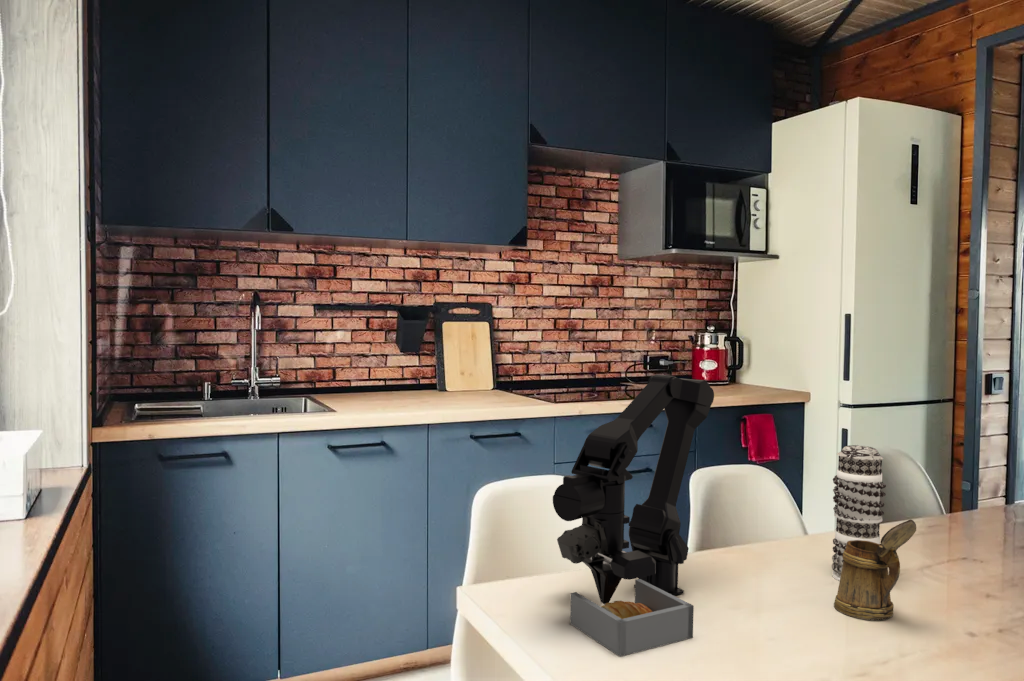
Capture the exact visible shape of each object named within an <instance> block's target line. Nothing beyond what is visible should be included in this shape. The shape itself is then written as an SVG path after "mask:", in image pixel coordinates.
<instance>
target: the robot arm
mask: <svg viewBox="0 0 1024 681" xmlns="http://www.w3.org/2000/svg"><path fill="white" fill-rule="evenodd" d="M714 398H715V392H714V389H713V388H712V387H711V385H710V383H709V382H708V381H707V380H705V379H704V380H703V379H692V378H691V379H690V378H680V377H679V378H678V377H676V376H674V375H668V374H667V375H665V374H654V375H651V376H650V377H649V378H648V379H647V384H646V385H645V386H644V387H643V389H641V391H640V392H638V394H637V395H636V396H635V398H633V400H632V401H630V403H629V404H628V405H627V406H626V407H625V408H624V409H623V411H622V412H621V413H620V414H619V416H617V417H616V418H615V419H614V420H611V421H609V422H606V423H604V424H601V425H600V426H598V427H596V429H594V430H592V431H591V432H590V433H589V434H588V435H587V437H586V438H585V440H584V443H583V445H582V448H581V450H580V451H579V454H578V456H577V457H576V461H575V462H574V465H573V466H572V470H571V471H570V472H571V474H573V475H570V474H569V475H564V476H563V478H562V484H560V485H558V486H557V487H556V489H555V490H554V494H553V495H552V504H553V509H554V511H555V513H556V515H557V516H558V517H559V518H560V519H561V520H563V521H565V522H572V521H576V520H579V519H581V520H582V521H581V525H578V526H576V527H574V528H572V529H567V530H564V532H563V533H562V534H561V535H560V536H558V537H557V539H556V540H557V544H558V548H559V552H560V554H561V557H562V558H563V559H566V560H568V561H570V562H571V563H572V564H575V565H576V564H580V563H583V564H584V565H586V567H588V568H589V569H590V572H591V575H592V577H593V580H594V584H595V587H596V590H597V593H598V597H599V601H600V603H601V604H603V605H605V604H606V603H611V602H610V601H611V599H612V598H613V596H614V595H615V592H616V590H617V588H618V586H619V585H620V583H621V580H622V579H623V580H636V579H641V580H643V581H645V582H647V583H649V584H651V585H653V586H655V587H657V588H659V589H661V590H663V591H665V592H667V593H669V594H671V595H673V596H677V595H681V594H685V593H684V592H685V590H684V589H682V588H680V587H679V586H678V585H679V565H683V564H685V561H686V560H687V559H688V554H689V546H688V544H687V543H686V542H685V541H684V539H683V538H682V536H681V534H680V530H681V520H680V517H679V513H678V509H677V502H678V498H679V495H680V489H681V488H682V487H681V486H682V482H683V478H684V474H685V469H686V466H687V463H688V459H689V455H690V450H691V446H692V442H693V438H694V435H695V434H694V433H695V431H696V429H697V428H698V427H699V426H700V425H701V424H702V423H703V422H704V421H705V420H706V419H707V418H708V414H709V413H710V410H711V407H712V405H713V403H714V400H715V399H714ZM663 410H664V413H665V416H666V419H667V425H666V429H665V433H664V437H663V440H662V444H661V448H660V452H659V456H658V460H657V464H656V468H655V470H654V475H653V479H652V483H651V486H650V491H649V494H648V498H647V499H645V501H644V502H643V503H642V504H641V503H639V504H638V503H635V505H634V507H633V509H632V516H631V519H630V516H628V515H626V514H625V499H626V498H625V497H626V496H625V495H626V494H625V491H626V483H625V482H626V481H630V480H632V479H633V477H634V476H633V475H632V473H630V472H629V471H628V469H627V468H628V467H630V465H631V463H632V461H633V460H634V458H635V457H636V455H637V453H638V451H639V450H638V443H639V442H638V441H640V438H641V437H642V435H643V434H644V433H645V432H646V431H647V429H648V428H650V426H651V425H652V424H653V422H654V421H655V420H656V419H657V418H658V416H659V415H660V414H661V413H662V412H663ZM589 465H590V466H589ZM626 524H628V526H629V528H628V538H629V541H628V540H626V539H624V538H625V533H624V532H625V525H626ZM630 546H631V551H625V550H624V549H629V548H630ZM633 588H634V589H635V584H633Z"/></svg>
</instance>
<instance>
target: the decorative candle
mask: <svg viewBox="0 0 1024 681" xmlns="http://www.w3.org/2000/svg"><path fill="white" fill-rule="evenodd" d="M836 455H837V456H838V462H837V466H838V467H837V470H836V475H834V477H833V478H832V481H833V484H834V485H835V486H834V487H833V489H832V492H833V494H834V495H833V497H832V499H833V502H834V503H835V505H834V506H833V511H834V512H833V516H834V517H835V518H836V521H835V522H836V523H835V524H836V525H835V526H836V527H835V530H834V538H833V539H832V544H833V545H834V546H833V547H832V551H833V553H834V554H832V556H831V561H832V562H833V563H832V564H831V568H832V572H831V573H832V574H831V577H833V578H834V580H837V581H839V582H840V577H841V572H842V566H843V561H844V560H843V558H842V557H843V553H844V550H846V545H847V542H848V541H853V540H862V541H870V542H874V543H877V544H880V545H881V543H880V542H881V534H880V524H881V522H883V516H884V515H885V512H884V511H883V509H881V508H883V507H885V503H884V502H883V501H881V498H883V497H885V496H886V492H884V490H883V489H886V487H887V484H886V483H884V482H883V471H882V469H883V468H882V467H883V459H885V457H884V456H882V455H881V454H880V453H879V451H878V450H877V449H876V448H874V447H873V446H866V445H858V444H857V445H856V444H855V445H853V444H852V445H851V444H850V445H845V446H844V447H843V448H842V449H841V451H839V452H837V453H836Z"/></svg>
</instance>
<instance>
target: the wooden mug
mask: <svg viewBox="0 0 1024 681" xmlns="http://www.w3.org/2000/svg"><path fill="white" fill-rule="evenodd" d="M916 532H917V524H916V522H915V521H914V520H913V519H908V520H906V521H903V522H901V523H899V524H897V525H895V526H893V527H891V528H890V529H888V531H887V532H886V533H885V534H883V535H882V537H881V538H880V544H881V545H880V544H877V543H874V542H870V541H862V540H853V541H848V542H847V545H846V550H844V553H843V557H842V558H843V560H844V561H843V566H842V572H841V577H840V581H839V582H838V587H837V588H838V589H837V593H836V595H835V598H834V603H833V607H834V608H835V610H836V611H838V612H839V613H841V614H844V615H846V616H849V617H852V618H855V619H860V620H865V621H883V620H888V619H891V617H893V615H894V603H893V601H891V591H892V590H893V588H894V587H895V586H896V584H897V582H898V580H899V577H900V573H901V562H900V559H899V558H900V557H899V555H898V553H897V552H898V551H897V550H898V549H900V547H901V546H904V545H905V544H906V543H908V542H909V541H910V540H911V538H912V537H913V536H914V535H915V533H916Z"/></svg>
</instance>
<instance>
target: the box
mask: <svg viewBox="0 0 1024 681" xmlns="http://www.w3.org/2000/svg"><path fill="white" fill-rule="evenodd" d="M634 582H635V583H634V585H635V588H634V603H635V604H636V603H641V604H644V605H645V606H647V607H648V608H649V609H651V610H652V612H650V613H646V614H642V615H637V616H633V617H629V618H624V619H621V618H619V617H618V616H616V615H614V614H613V613H611V612H609V611H608V610H606V609H604V608H602V607H601V606H602V605H601V606H600V605H599V604H598V603H595V602H594V601H592V600H591V599H589V598H588V597H586V596H584V595H582V594H580V593H579V592H577V591H573V592H570V608H569V611H570V617H569V619H570V620H569V624H570V625H572V626H573V627H575V628H576V629H577V630H579V631H581V632H582V633H584V634H585V635H587V636H588V637H590V638H591V639H592V640H594V641H595V642H597V643H598V644H600V645H601V646H603V647H604V648H606V649H608V650H609V651H610V652H612V653H614V654H615V655H616V656H619V657H625V656H627V655H631V654H635V653H640V652H642V651H646V650H649V649H654V648H659V647H661V646H662V647H663V646H666V645H670V644H674V643H677V642H680V641H684V640H688V639H689V640H690V639H692V638H694V609H695V608H694V607H695V605H693V604H692V603H689V602H688V601H685V600H683V599H681V598H679V597H677V596H676V595H674V596H673V595H671V594H669V593H667V592H665V591H663V590H661V589H659V588H657V587H655V586H653V585H651V584H649V583H647V582H645V581H643V580H641V579H638V578H636V579H634Z"/></svg>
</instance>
